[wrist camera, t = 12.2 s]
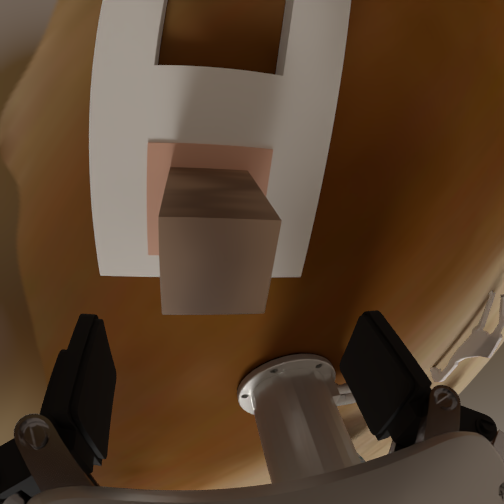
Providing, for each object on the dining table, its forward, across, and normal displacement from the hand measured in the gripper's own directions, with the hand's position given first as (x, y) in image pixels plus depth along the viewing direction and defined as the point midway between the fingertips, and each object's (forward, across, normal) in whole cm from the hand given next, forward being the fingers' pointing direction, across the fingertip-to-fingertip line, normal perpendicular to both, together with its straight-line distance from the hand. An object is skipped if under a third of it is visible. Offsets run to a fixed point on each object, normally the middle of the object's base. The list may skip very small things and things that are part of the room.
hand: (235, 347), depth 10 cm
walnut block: (+12, 0, -1) cm, 12 cm away
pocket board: (+14, 0, -8) cm, 16 cm away
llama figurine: (+16, -42, +19) cm, 49 cm away
